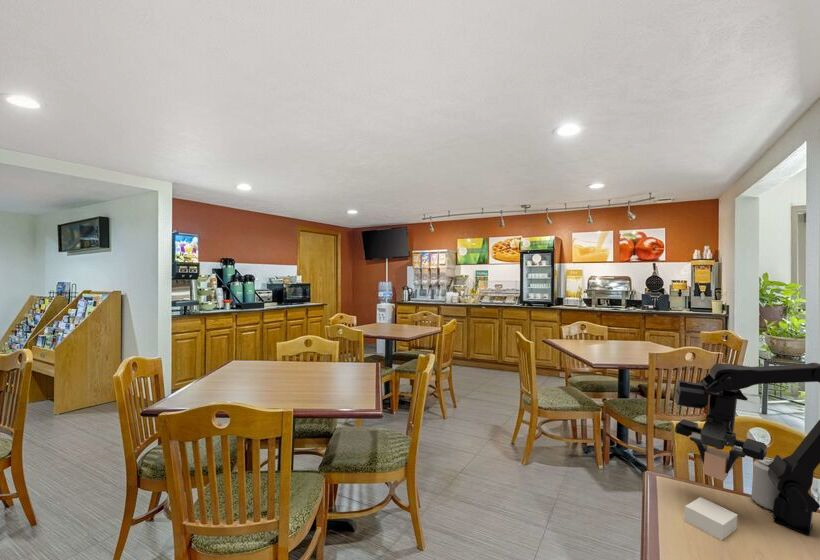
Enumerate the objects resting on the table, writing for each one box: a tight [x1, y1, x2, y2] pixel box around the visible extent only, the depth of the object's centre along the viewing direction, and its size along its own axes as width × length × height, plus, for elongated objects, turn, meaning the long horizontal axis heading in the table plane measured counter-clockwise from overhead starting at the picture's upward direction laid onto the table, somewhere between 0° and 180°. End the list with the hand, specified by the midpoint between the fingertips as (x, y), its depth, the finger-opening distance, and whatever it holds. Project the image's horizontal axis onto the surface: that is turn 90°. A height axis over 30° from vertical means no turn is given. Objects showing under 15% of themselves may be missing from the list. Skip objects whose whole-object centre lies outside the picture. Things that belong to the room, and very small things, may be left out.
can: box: [751, 456, 780, 511], centre depth 108 cm, size 8×8×12 cm
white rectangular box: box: [683, 496, 739, 541], centre depth 99 cm, size 8×8×4 cm
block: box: [702, 446, 729, 482], centre depth 107 cm, size 4×4×6 cm
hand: (715, 469), depth 107 cm, fingers closed on block, 4 cm apart
